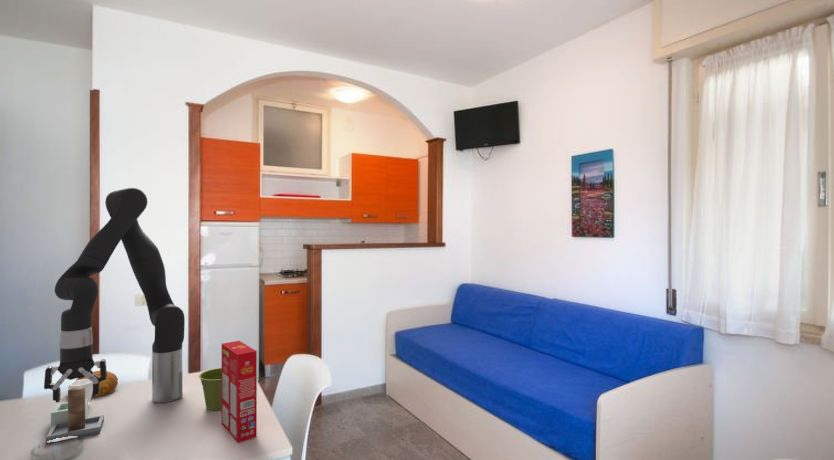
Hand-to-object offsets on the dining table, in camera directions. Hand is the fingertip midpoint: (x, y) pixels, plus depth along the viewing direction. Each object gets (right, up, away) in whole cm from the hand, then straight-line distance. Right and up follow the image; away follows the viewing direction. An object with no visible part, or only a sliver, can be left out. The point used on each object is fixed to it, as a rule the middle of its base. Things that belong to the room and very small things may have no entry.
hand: (76, 398), depth 124 cm
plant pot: (+34, -10, +18) cm, 39 cm away
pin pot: (-7, -10, +7) cm, 14 cm away
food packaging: (+47, -10, +1) cm, 48 cm away
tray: (0, -10, 0) cm, 10 cm away
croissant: (-19, -10, +31) cm, 37 cm away
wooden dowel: (0, -9, 0) cm, 9 cm away
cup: (-15, -10, +19) cm, 26 cm away
